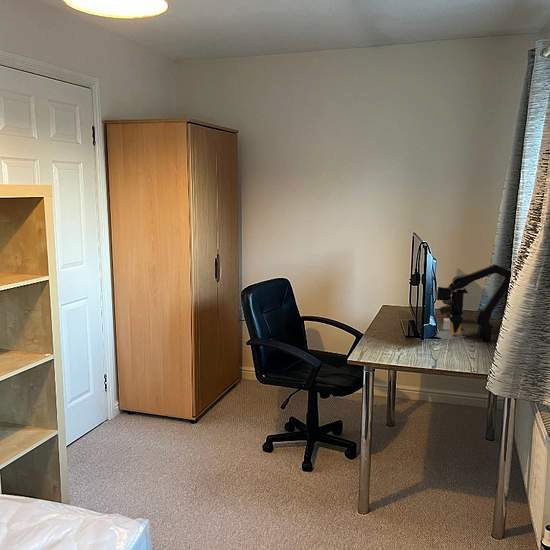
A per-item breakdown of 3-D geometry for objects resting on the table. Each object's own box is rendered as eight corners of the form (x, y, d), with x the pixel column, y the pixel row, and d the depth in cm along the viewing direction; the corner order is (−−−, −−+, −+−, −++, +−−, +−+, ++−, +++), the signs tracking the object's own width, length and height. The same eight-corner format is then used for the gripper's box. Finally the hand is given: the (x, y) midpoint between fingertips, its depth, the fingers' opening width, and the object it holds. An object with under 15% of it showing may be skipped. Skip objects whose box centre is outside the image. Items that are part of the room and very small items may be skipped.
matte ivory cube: (453, 329, 304) (454, 319, 303) (453, 332, 299) (454, 321, 298) (443, 328, 306) (444, 318, 305) (442, 331, 301) (443, 320, 300)
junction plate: (466, 339, 284) (466, 330, 284) (444, 341, 279) (444, 332, 278) (447, 332, 297) (448, 324, 296) (426, 334, 291) (426, 326, 291)
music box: (458, 325, 316) (457, 290, 313) (438, 324, 320) (437, 289, 318) (460, 319, 330) (460, 286, 327) (441, 319, 334) (440, 286, 332)
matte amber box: (460, 331, 288) (461, 320, 287) (460, 334, 283) (461, 322, 282) (449, 330, 289) (450, 319, 288) (449, 333, 284) (450, 321, 283)
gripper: (441, 296, 295) (439, 325, 297) (440, 303, 277) (438, 333, 280) (463, 298, 291) (461, 327, 294) (463, 305, 274) (461, 336, 276)
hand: (455, 331), depth 286 cm, fingers closed on matte amber box, 5 cm apart
